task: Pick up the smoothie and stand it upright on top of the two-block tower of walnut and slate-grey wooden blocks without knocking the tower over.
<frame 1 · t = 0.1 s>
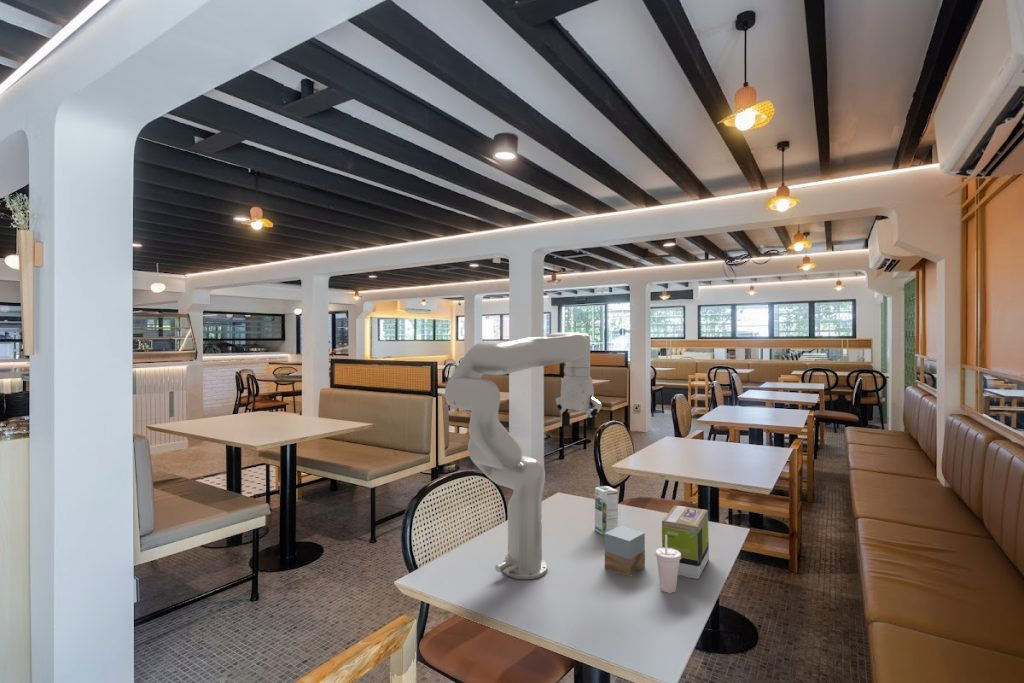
hand: (578, 427, 162), 37 cm above the table, tool pointing down, fingers open, 9 cm apart
smoothie: (668, 590, 134), on the table
syrup box: (606, 532, 173), on the table
tea box: (686, 566, 148), on the table
tower base: (624, 568, 147), on the table
tower top: (624, 550, 147), point 5 cm above the table
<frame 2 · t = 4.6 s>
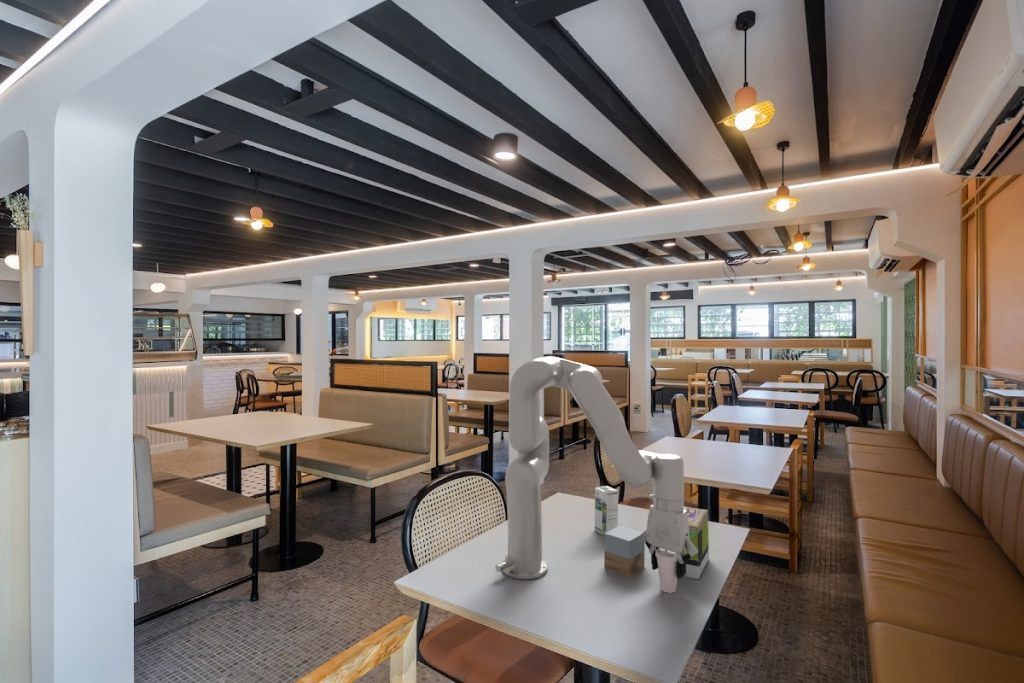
hand: (668, 571, 134), 5 cm above the table, tool pointing down, fingers closed on smoothie, 6 cm apart
smoothie: (668, 590, 134), on the table, touching gripper
tower base: (624, 568, 147), on the table, touching tower top
tower top: (624, 550, 147), point 5 cm above the table, touching tower base
everything else where it was.
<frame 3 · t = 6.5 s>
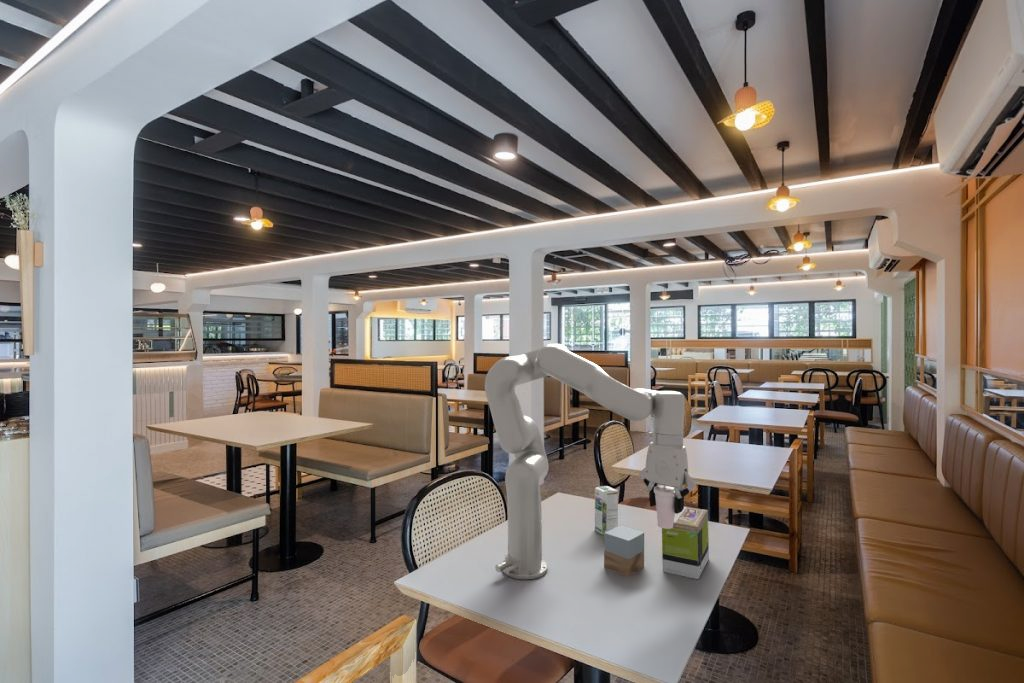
hand: (666, 508, 134), 21 cm above the table, tool pointing down, fingers closed on smoothie, 6 cm apart
smoothie: (665, 526, 134), point 16 cm above the table, touching gripper
tower base: (624, 568, 147), on the table
tower top: (624, 550, 147), point 5 cm above the table
everything else where it was.
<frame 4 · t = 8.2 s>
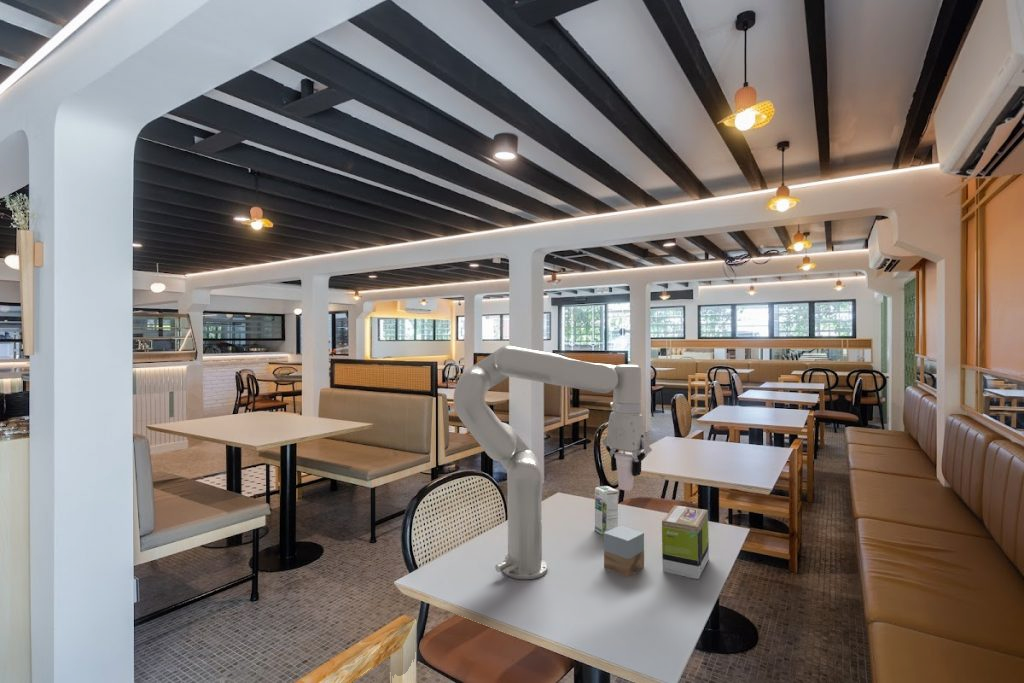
hand: (625, 472, 146), 27 cm above the table, tool pointing down, fingers closed on smoothie, 6 cm apart
smoothie: (625, 489, 146), point 22 cm above the table, touching gripper
everything else where it was.
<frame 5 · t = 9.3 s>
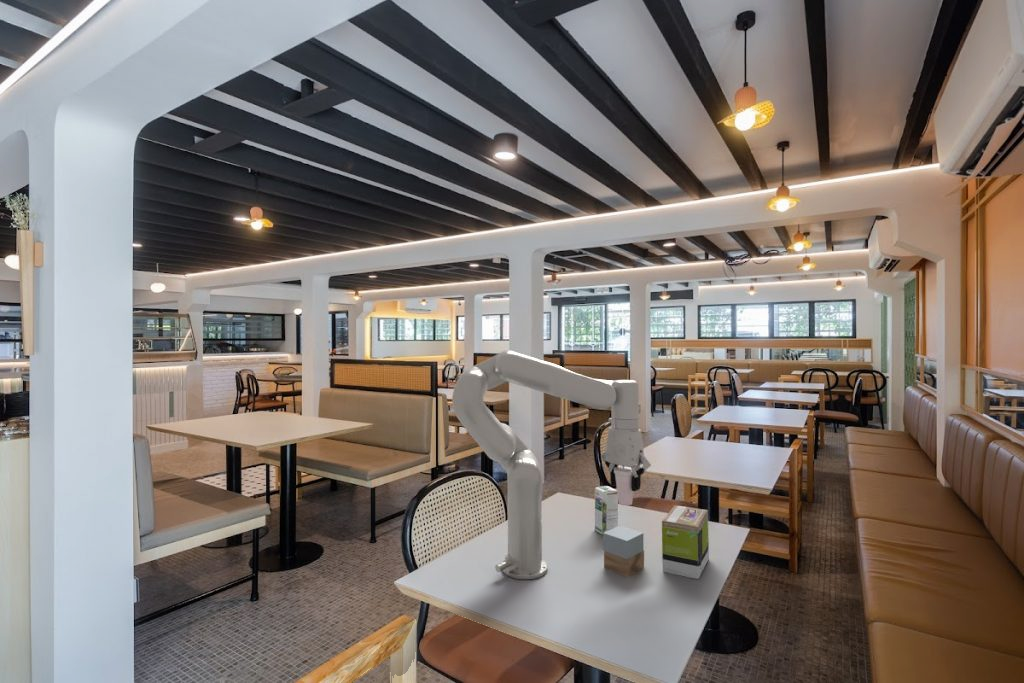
hand: (625, 487, 147), 23 cm above the table, tool pointing down, fingers closed on smoothie, 6 cm apart
smoothie: (625, 503, 147), point 18 cm above the table, touching gripper
tower base: (624, 568, 147), on the table, touching tower top
tower top: (623, 550, 147), point 5 cm above the table, touching tower base
everything else where it was.
when the fingers open (16 cm above the table, at t = 10.9 s): smoothie drops 1 cm, resting on tower top.
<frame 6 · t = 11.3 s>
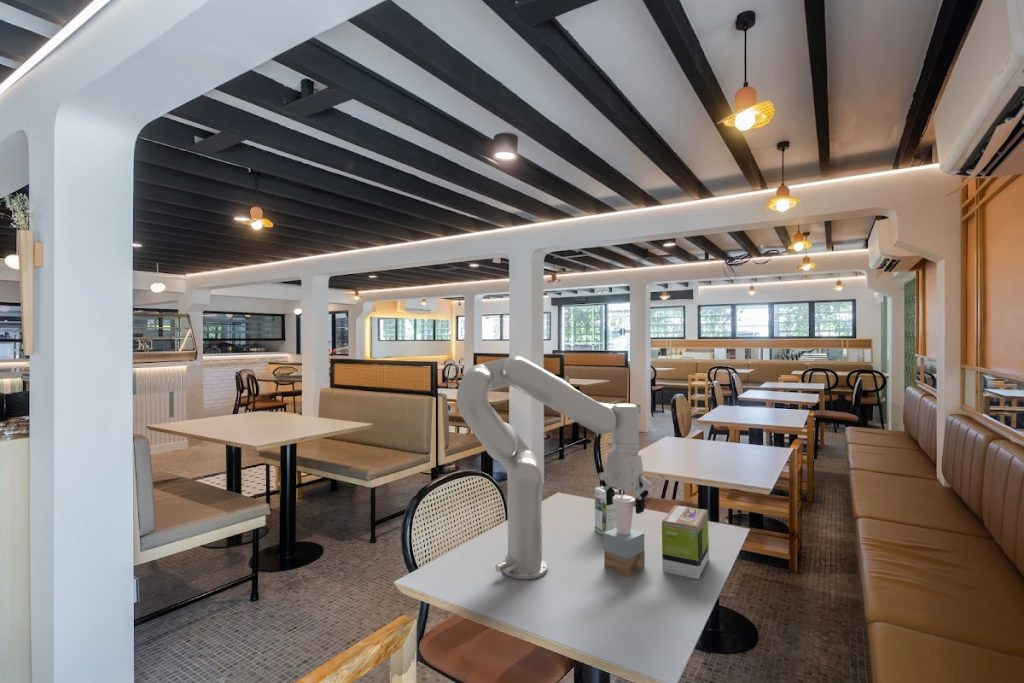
hand: (624, 508, 147), 17 cm above the table, tool pointing down, fingers open, 9 cm apart
smoothie: (623, 532, 147), point 10 cm above the table, touching tower top
tower top: (623, 550, 147), point 5 cm above the table, touching smoothie, tower base
everything else where it was.
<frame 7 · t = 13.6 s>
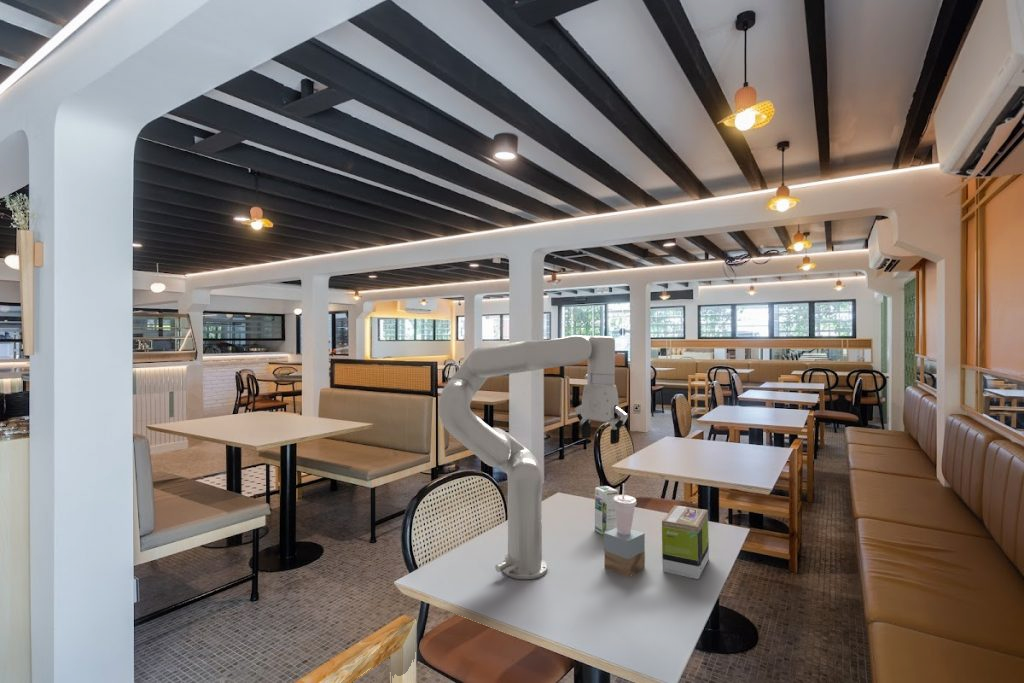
hand: (600, 440, 146), 36 cm above the table, tool pointing down, fingers open, 9 cm apart
nothing on the table moved.
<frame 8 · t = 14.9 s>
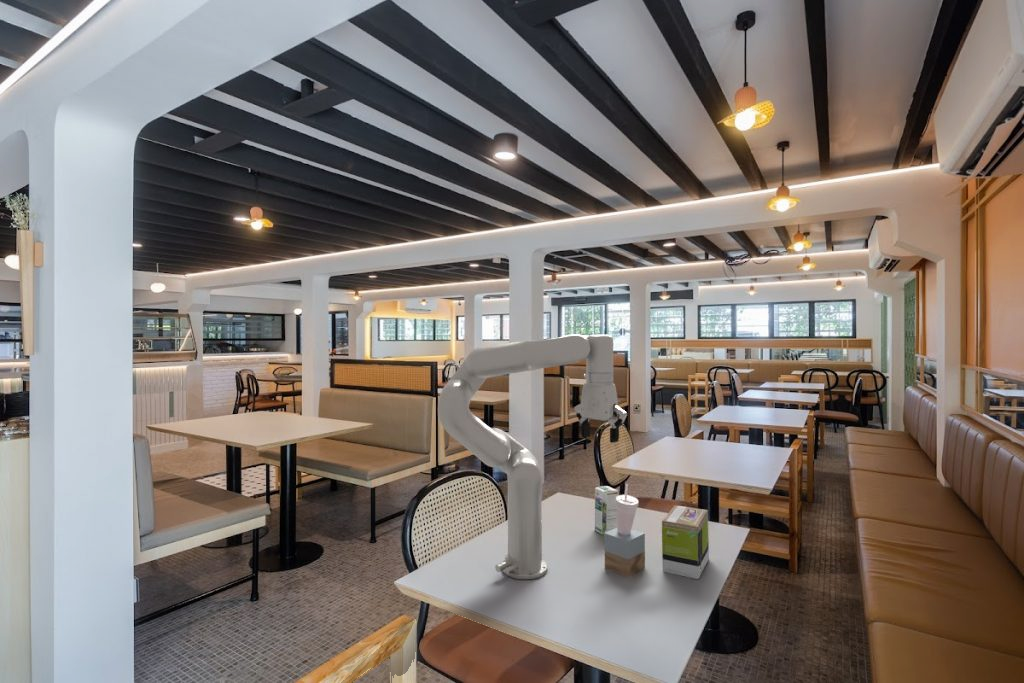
hand: (599, 439, 146), 36 cm above the table, tool pointing down, fingers open, 9 cm apart
at the end: smoothie 0.4 cm from the tower top (horizontally); smoothie point 9.9 cm above the table; tower top 0.1 cm off-centre on the tower base, point 5.0 cm above the tower base's base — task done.
